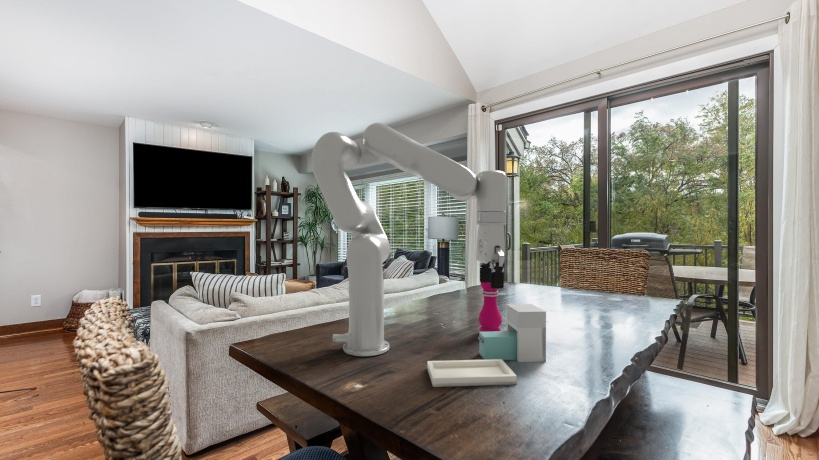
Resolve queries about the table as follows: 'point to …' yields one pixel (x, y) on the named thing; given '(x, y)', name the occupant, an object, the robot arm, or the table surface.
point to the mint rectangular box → (498, 345)
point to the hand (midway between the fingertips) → (491, 285)
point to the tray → (470, 373)
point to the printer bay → (528, 331)
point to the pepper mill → (489, 310)
